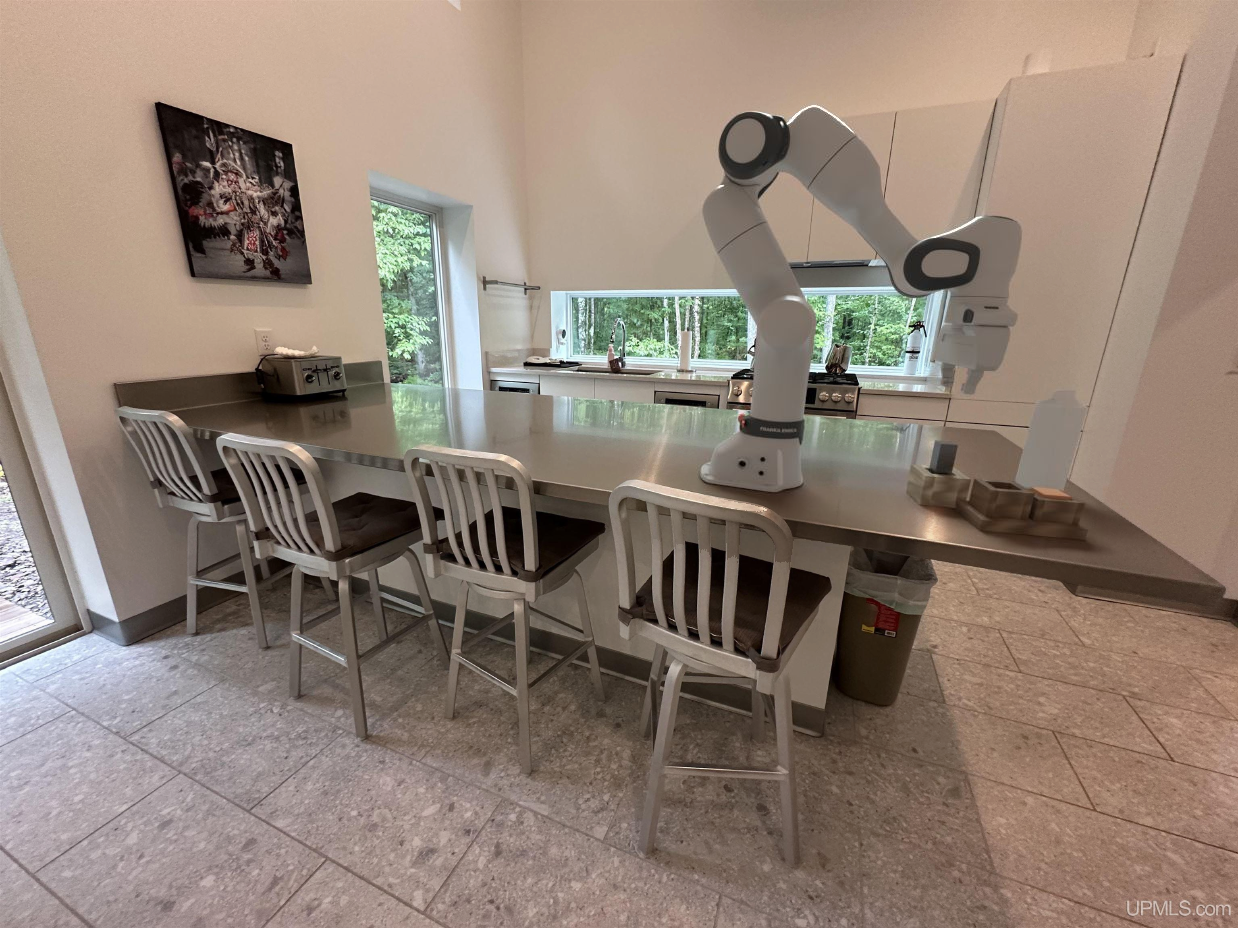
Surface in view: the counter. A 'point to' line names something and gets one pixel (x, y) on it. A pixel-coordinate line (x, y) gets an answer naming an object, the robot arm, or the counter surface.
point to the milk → (1051, 441)
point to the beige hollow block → (937, 487)
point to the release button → (1050, 493)
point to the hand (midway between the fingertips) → (956, 390)
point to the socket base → (1021, 511)
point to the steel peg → (943, 457)
